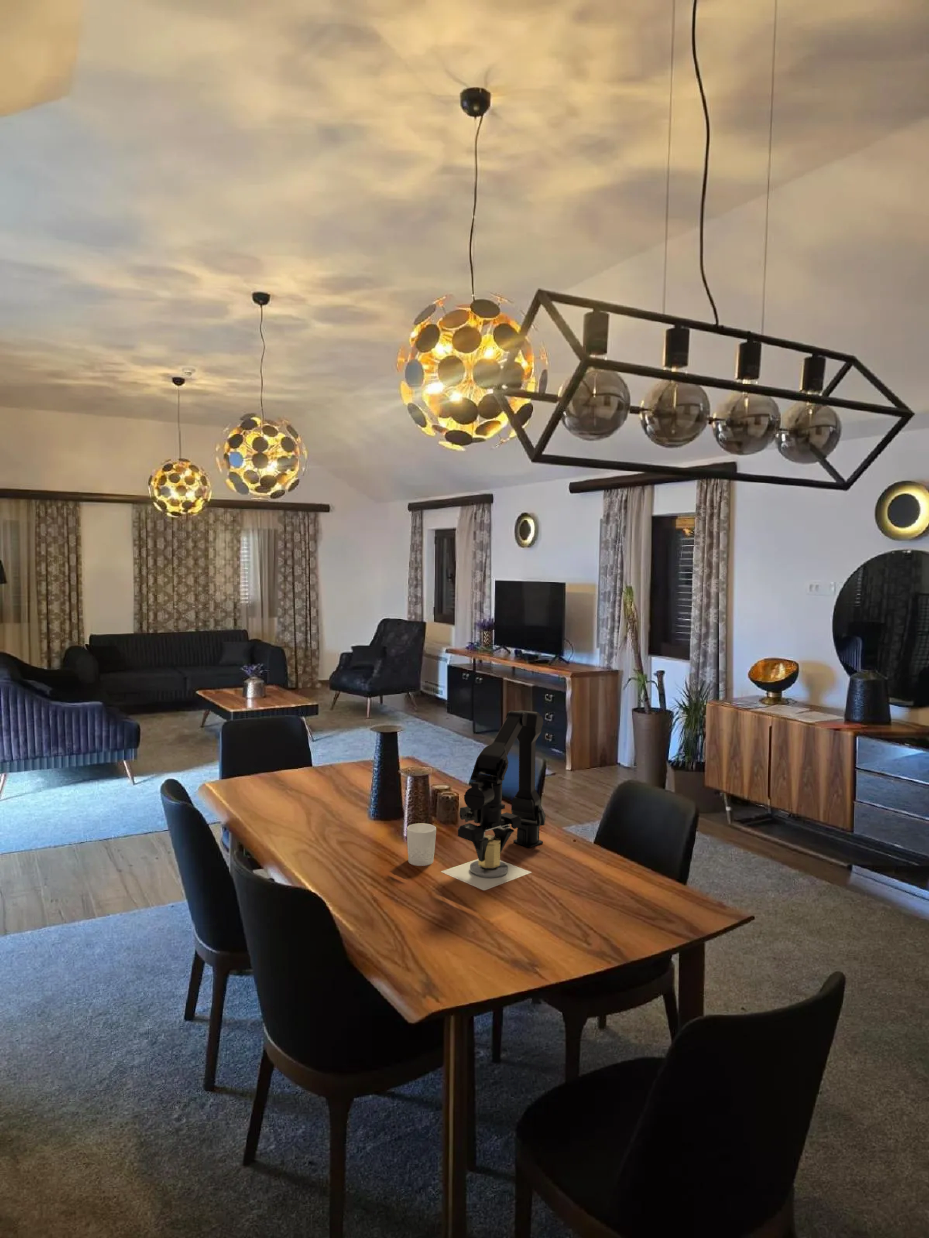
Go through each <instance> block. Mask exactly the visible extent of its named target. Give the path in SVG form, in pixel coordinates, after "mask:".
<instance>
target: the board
mask: <svg viewBox="0 0 929 1238" xmlns="http://www.w3.org/2000/svg"><path fill="white" fill-rule="evenodd" d="M475 861H478V858H477V859H474V860H471V861H468V862H465V863H462V864H459V865H457V866H453V867H450V868H447V869H444V870H441V871H440V873H442V874H445V875H447V876H450V877H452V878H454V879H455V880H456V879H457V880H458V881H461V882H464V883H466V884H468V885H470V886H472V887H475V888H477V889H478V890H482V891H487V890H490V889H492V888H495V887H497V886H500V885H502V884H505V883H507V882H510V881H514V880H516V879H518V878H521V877H524V876H526V875H529V874H532V871H530V870H527V869H524V868H522V867H520V866H519V867H518V866H516V865H515V864H511V863H509V862H506V861H503V860H501V859H500V862H503V863H505V864H506V865H507V866H508V873H507V875H505V876H503V877H500V878H481V877H477V876H475V875H473V874H472V873H471V872H470V865H471V863H473V862H475Z"/></svg>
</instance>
